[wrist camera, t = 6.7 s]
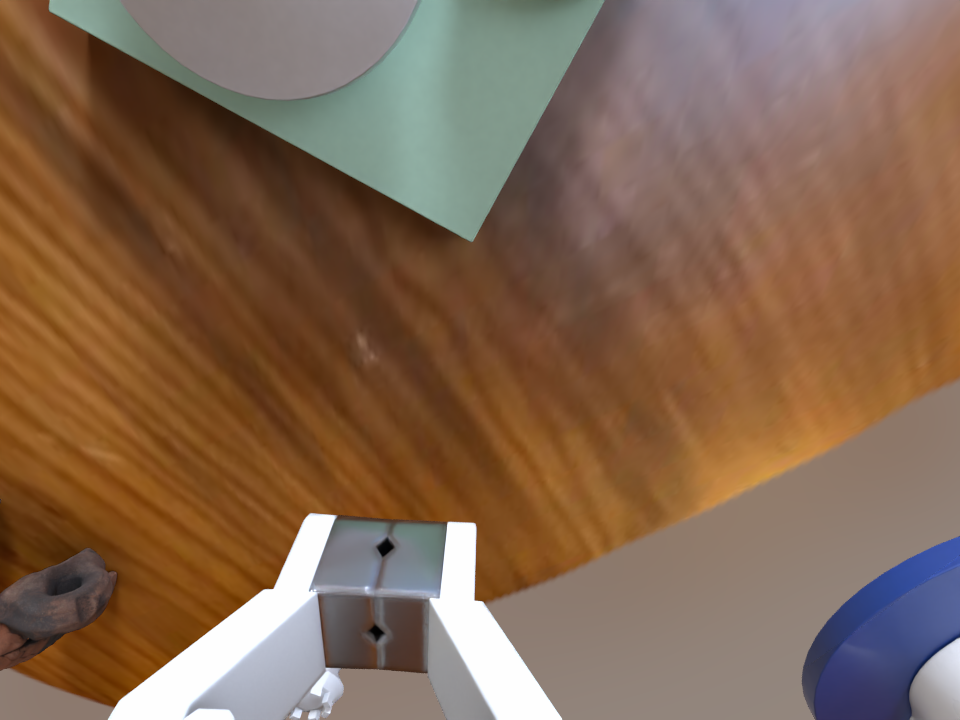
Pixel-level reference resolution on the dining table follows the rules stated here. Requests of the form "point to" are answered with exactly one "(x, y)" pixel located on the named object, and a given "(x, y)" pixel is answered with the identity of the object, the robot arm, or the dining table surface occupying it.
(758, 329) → the dining table surface
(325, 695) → the rook chess piece
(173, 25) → the pan
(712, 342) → the dining table surface
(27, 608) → the pottery mug
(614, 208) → the dining table surface
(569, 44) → the scale
